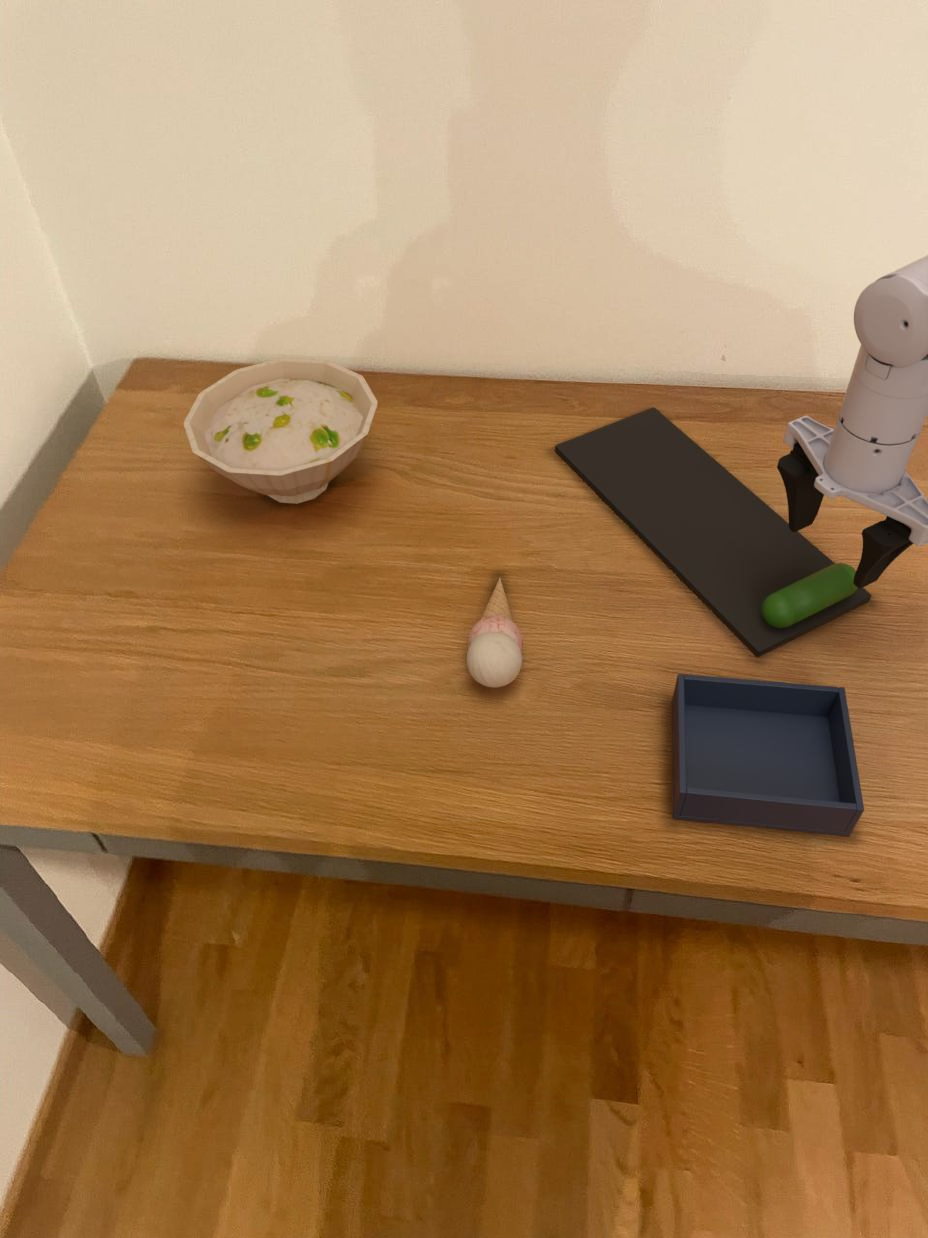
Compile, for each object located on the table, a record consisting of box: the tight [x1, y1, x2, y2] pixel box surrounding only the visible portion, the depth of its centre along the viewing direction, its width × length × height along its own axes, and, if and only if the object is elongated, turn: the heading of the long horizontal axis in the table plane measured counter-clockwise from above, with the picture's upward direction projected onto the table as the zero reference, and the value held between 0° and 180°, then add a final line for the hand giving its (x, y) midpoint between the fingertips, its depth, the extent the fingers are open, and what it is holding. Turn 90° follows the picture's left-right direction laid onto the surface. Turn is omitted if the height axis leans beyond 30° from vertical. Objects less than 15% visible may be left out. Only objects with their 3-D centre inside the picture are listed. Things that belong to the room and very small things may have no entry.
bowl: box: [182, 357, 379, 505], centre depth 95 cm, size 19×19×10 cm
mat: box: [554, 406, 872, 658], centre depth 92 cm, size 33×13×1 cm, turn 29°
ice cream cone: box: [465, 577, 524, 688], centre depth 82 cm, size 5×5×15 cm
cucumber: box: [761, 562, 858, 628], centre depth 82 cm, size 10×3×3 cm, turn 119°
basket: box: [671, 673, 865, 837], centre depth 72 cm, size 13×11×4 cm
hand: (831, 553), depth 78 cm, fingers open, 7 cm apart
